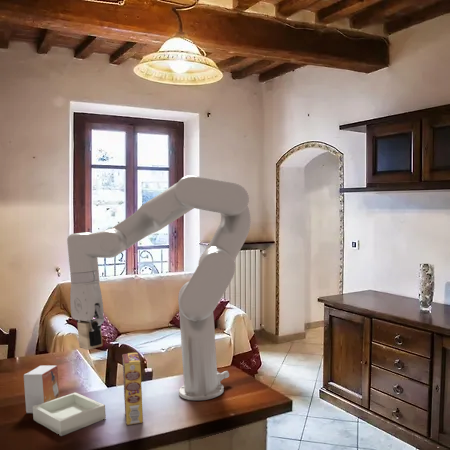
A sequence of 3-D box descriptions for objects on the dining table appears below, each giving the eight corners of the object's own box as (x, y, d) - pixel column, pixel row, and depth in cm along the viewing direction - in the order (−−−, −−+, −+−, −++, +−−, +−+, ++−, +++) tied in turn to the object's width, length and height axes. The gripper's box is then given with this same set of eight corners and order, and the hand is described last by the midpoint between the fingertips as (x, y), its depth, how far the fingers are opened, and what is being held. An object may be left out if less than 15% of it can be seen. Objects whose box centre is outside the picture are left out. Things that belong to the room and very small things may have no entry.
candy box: (144, 423, 120) (140, 361, 119) (126, 425, 118) (122, 363, 118) (141, 409, 128) (137, 351, 128) (125, 412, 127) (121, 353, 127)
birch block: (94, 343, 137) (91, 318, 137) (102, 345, 134) (100, 320, 134) (79, 347, 134) (77, 322, 134) (88, 349, 131) (85, 324, 131)
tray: (76, 404, 134) (75, 392, 134) (105, 418, 124) (104, 404, 123) (33, 420, 125) (32, 406, 125) (61, 436, 115) (60, 421, 115)
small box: (44, 414, 129) (41, 374, 129) (25, 413, 130) (22, 374, 130) (60, 402, 137) (58, 364, 137) (42, 401, 138) (40, 364, 138)
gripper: (57, 278, 137) (63, 343, 137) (88, 281, 125) (95, 352, 125) (81, 274, 142) (87, 337, 143) (113, 276, 130) (119, 344, 131)
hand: (90, 343), depth 134 cm, fingers closed on birch block, 4 cm apart
